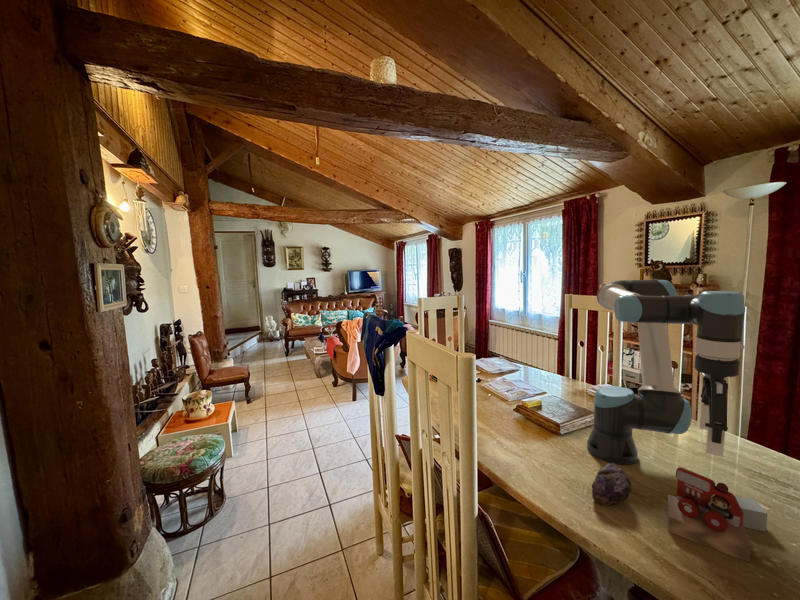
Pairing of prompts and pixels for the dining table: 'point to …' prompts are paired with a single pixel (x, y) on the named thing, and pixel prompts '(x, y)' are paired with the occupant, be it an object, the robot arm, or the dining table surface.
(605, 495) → the rock
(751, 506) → the grey cube
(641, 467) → the dining table surface
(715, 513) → the toy fire truck
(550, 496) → the dining table surface
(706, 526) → the pedestal
